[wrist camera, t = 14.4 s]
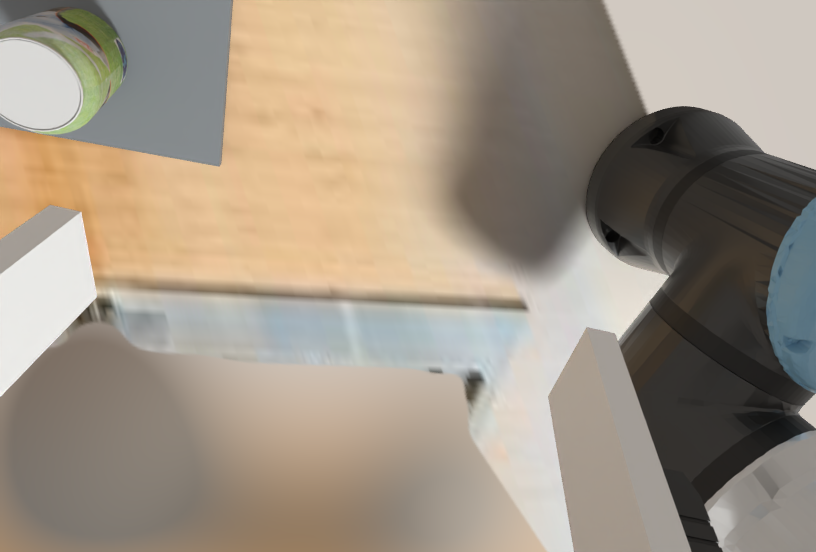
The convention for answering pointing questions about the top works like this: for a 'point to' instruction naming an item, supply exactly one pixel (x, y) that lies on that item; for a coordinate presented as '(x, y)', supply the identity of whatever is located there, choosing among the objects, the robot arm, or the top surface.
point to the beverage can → (58, 69)
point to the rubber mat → (157, 75)
